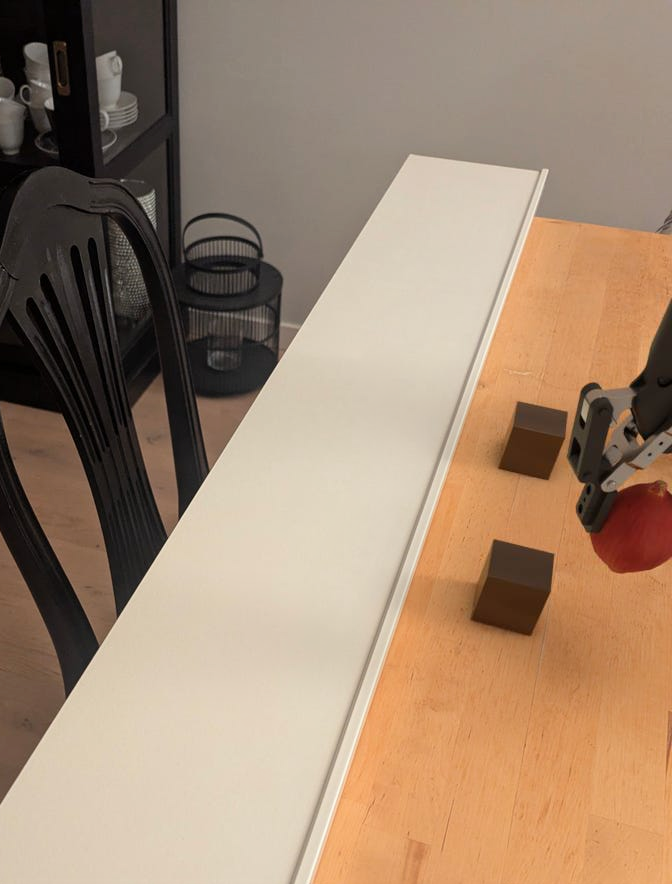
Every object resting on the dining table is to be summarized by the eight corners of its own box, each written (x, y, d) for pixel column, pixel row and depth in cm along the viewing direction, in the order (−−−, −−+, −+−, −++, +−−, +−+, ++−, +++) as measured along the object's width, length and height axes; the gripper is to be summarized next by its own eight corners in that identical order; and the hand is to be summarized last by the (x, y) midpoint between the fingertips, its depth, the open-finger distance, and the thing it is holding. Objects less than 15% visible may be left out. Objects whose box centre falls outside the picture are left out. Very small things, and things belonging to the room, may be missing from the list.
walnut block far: (502, 442, 96) (517, 400, 92) (551, 453, 95) (568, 411, 91) (498, 468, 92) (513, 425, 89) (548, 479, 91) (565, 437, 88)
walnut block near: (477, 582, 80) (493, 538, 76) (535, 597, 79) (554, 553, 75) (470, 619, 77) (487, 575, 73) (531, 635, 76) (551, 591, 72)
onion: (567, 540, 68) (606, 450, 62) (646, 546, 68) (692, 456, 62) (583, 594, 64) (627, 503, 58) (667, 601, 64) (719, 510, 58)
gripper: (649, 322, 48) (547, 561, 60) (911, 329, 49) (758, 564, 61) (602, 260, 53) (517, 491, 66) (840, 267, 54) (711, 495, 66)
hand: (633, 525), depth 63 cm, fingers closed on onion, 6 cm apart
